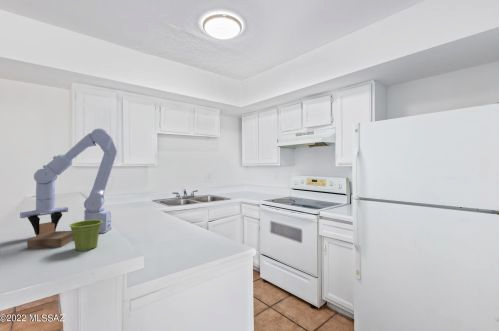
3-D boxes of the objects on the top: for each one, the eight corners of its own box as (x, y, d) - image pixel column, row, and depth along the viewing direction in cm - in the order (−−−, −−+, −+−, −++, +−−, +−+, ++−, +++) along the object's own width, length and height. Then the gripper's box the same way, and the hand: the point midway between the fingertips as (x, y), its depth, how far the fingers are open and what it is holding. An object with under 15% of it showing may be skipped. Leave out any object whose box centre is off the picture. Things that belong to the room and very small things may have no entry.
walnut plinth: (75, 238, 91) (75, 230, 91) (61, 246, 81) (61, 238, 81) (46, 239, 89) (46, 231, 89) (27, 248, 79) (27, 240, 79)
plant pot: (65, 255, 74) (66, 227, 74) (72, 246, 82) (72, 221, 82) (100, 250, 78) (100, 224, 78) (103, 242, 86) (103, 218, 86)
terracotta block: (50, 234, 96) (50, 222, 96) (54, 235, 94) (54, 223, 94) (36, 236, 92) (36, 224, 92) (40, 238, 90) (40, 225, 90)
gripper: (63, 196, 101) (63, 227, 101) (17, 200, 89) (17, 235, 89) (70, 197, 97) (70, 229, 97) (23, 201, 85) (23, 238, 85)
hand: (45, 232), depth 93 cm, fingers closed on terracotta block, 4 cm apart
